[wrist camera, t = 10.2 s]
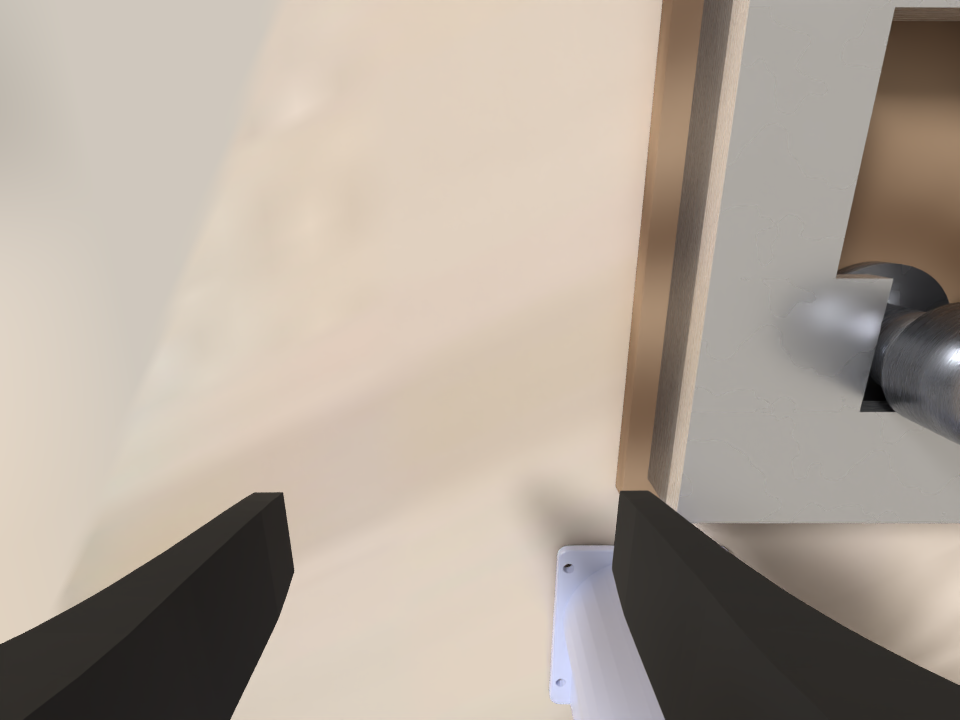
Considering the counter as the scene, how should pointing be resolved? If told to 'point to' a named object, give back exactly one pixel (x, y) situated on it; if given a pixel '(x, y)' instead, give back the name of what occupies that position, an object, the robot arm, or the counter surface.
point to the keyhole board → (875, 208)
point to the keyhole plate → (785, 283)
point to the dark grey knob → (916, 350)
